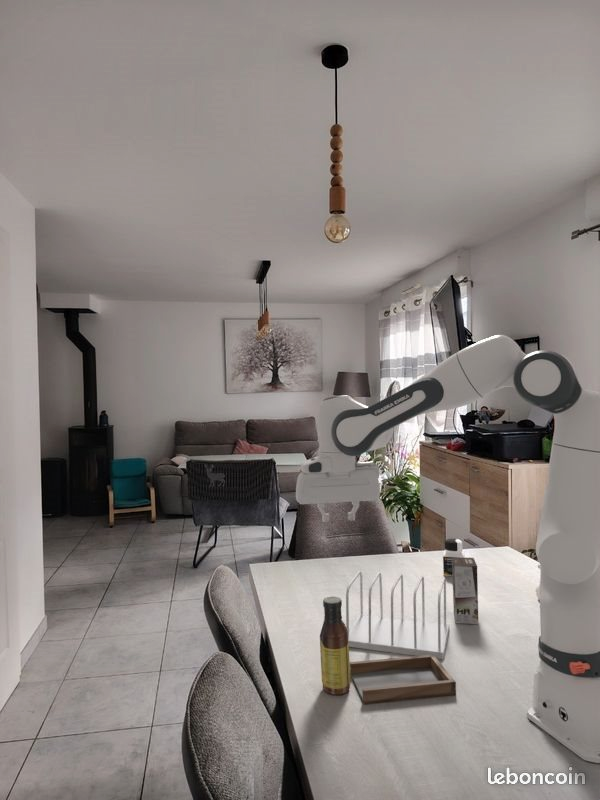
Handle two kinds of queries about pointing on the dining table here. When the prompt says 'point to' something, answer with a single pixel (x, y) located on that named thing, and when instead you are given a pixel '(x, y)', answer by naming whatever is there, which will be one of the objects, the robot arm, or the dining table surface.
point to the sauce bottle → (334, 649)
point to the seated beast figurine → (538, 586)
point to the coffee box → (465, 590)
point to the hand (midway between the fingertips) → (338, 520)
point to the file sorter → (398, 626)
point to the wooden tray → (401, 679)
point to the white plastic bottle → (451, 554)
